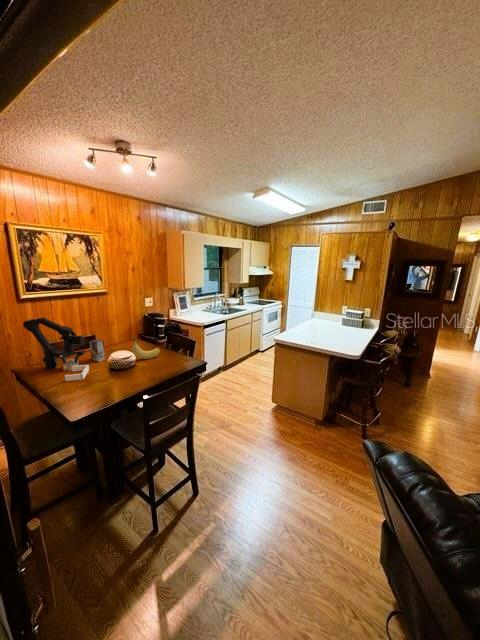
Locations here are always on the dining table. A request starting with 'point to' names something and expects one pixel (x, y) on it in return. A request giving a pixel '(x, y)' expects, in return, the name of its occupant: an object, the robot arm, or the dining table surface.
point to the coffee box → (97, 350)
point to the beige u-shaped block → (78, 376)
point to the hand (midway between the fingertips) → (70, 364)
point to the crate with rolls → (69, 364)
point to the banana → (144, 354)
